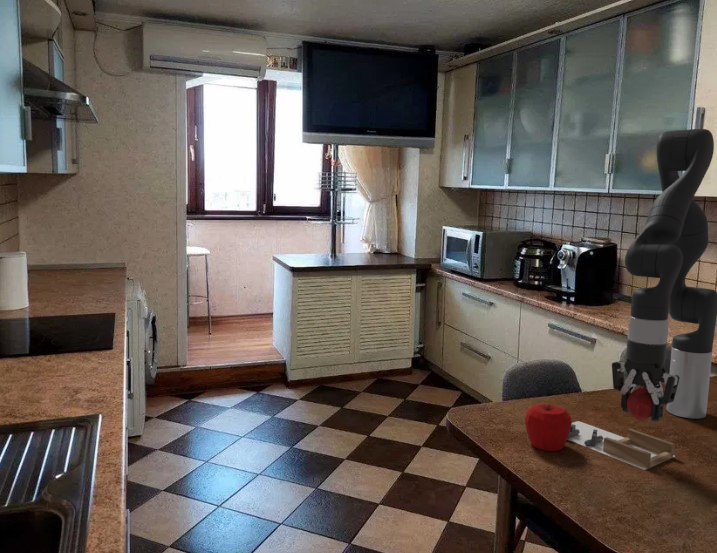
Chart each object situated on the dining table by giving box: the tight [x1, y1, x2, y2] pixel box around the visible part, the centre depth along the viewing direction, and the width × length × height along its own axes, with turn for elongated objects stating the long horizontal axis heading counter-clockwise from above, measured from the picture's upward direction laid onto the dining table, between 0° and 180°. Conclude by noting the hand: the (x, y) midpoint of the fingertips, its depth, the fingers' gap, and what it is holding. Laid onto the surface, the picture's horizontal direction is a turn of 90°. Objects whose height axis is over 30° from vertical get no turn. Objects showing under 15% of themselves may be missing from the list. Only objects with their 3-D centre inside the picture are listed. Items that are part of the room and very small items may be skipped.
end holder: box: [603, 428, 675, 469], centre depth 130 cm, size 10×10×3 cm
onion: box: [627, 385, 654, 422], centre depth 129 cm, size 6×6×8 cm
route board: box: [566, 420, 676, 471], centre depth 136 cm, size 14×24×4 cm, turn 35°
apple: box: [524, 403, 573, 452], centre depth 134 cm, size 10×10×11 cm
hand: (640, 415), depth 129 cm, fingers closed on onion, 6 cm apart
